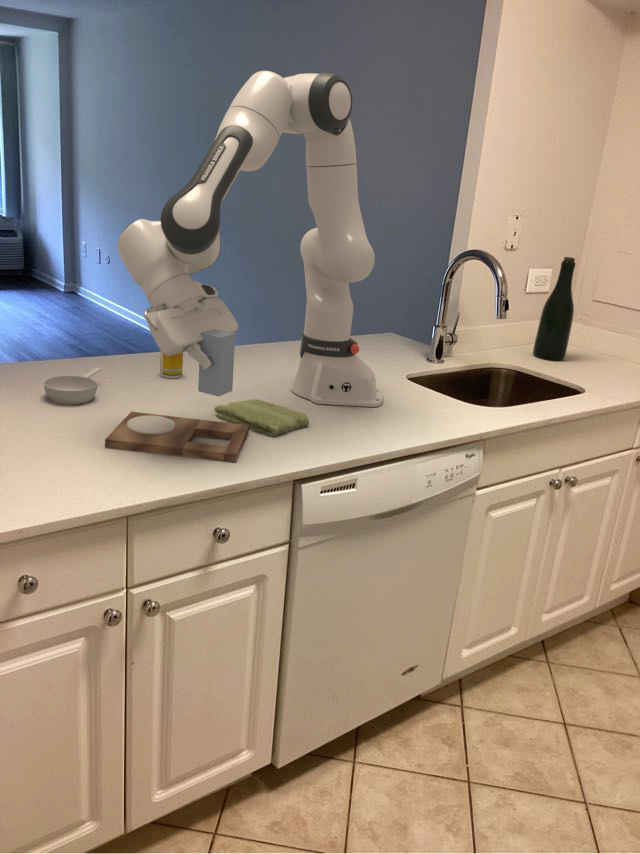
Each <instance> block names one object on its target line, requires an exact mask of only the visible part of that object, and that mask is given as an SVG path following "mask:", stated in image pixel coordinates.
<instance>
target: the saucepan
mask: <svg viewBox="0 0 640 854" xmlns="http://www.w3.org/2000/svg"><path fill="white" fill-rule="evenodd" d="M100 371H102V367H95V368H94V369H92V370H90V371H88V372H87V373H85V374H84V375H82V376H78V375H61V376H53V377H50V378H47V379H45V380H44V381H43V388H44V392H45V394H46V396H47V397H48V398H49V400H50V401H51V402H53V403H56V404H59V405H71V406H73V405H81V403H83V404H87V403H89V402H90V400H91V401H92V400H93V398H94V397H95V395H96V393H97V390H98V382H97V381H96V380H95V379H93V378H91V377H92V376H94V375H96V374H97V373H99V372H100ZM88 401H89V402H88Z"/></svg>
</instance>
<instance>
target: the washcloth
mask: <svg viewBox="0 0 640 854" xmlns="http://www.w3.org/2000/svg"><path fill="white" fill-rule="evenodd" d="M213 410H214V412H215V413H216V416H215V417H216V418H218V419H220V420H222V421H225V420H226V421H225V422H227V423H231V422H232V423H234V424H243V425H249V431H253V432H257V433H260V434H262V435H265V436H268V437H276V436H279V435H283V434H286V433H287V434H288V432H289V431H293V430H299V429H301V428H306V427H308V425H310V419H309V417H308V415H307V414H306V413H305V412H304V411H299V410H292V409H290V408H288V407H286V406H282V405H281V406H280V405H278V404H275V403H270V402H268V401H266V400H263V399H256V398H254V399H253V398H250V399H246V400H243V399H242V400H237V401H230V402H229V403H227V404H225V405H223V404H217V405H216V406H214V409H213Z"/></svg>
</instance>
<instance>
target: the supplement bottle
mask: <svg viewBox="0 0 640 854" xmlns="http://www.w3.org/2000/svg"><path fill="white" fill-rule="evenodd" d="M183 361H184V352H182V353H179V354H175V355H172V356H167V355H165V354H164V353H163V352H162V351H161V350H160V361H159V375H160V377H162V376H163V377H162V378H165V377H166V379H172V378H173V379H179V378H181V377H182V376H183V364H184V362H183Z"/></svg>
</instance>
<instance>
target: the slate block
mask: <svg viewBox="0 0 640 854" xmlns="http://www.w3.org/2000/svg"><path fill="white" fill-rule="evenodd" d="M200 334H201V335H202V337H203V341H201V342H200V347H201V348H200V350H201V351H202V352H203V353H204V354H206V355H207V356H209V355H210V356H211V358H212V360H213V361H214V365H213V366H212V367H210V368H208V369H203V367H202V366H201V364H200V363H199V362H198V387H197V388H198V389H197V390H198V391H197V392H200V393H203V394H207V395H210V396H215V397H221V396H223V395H226V394H228V393H232V392H233V386H234V385H233V383H234V366H235V365H234V364H235V363H234V362H235V348H236V347H235V344H236V342H235V341H236V333H230V332H226V331H221V330H217V329H213V330H210V331H206V332H202V333H200Z"/></svg>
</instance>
